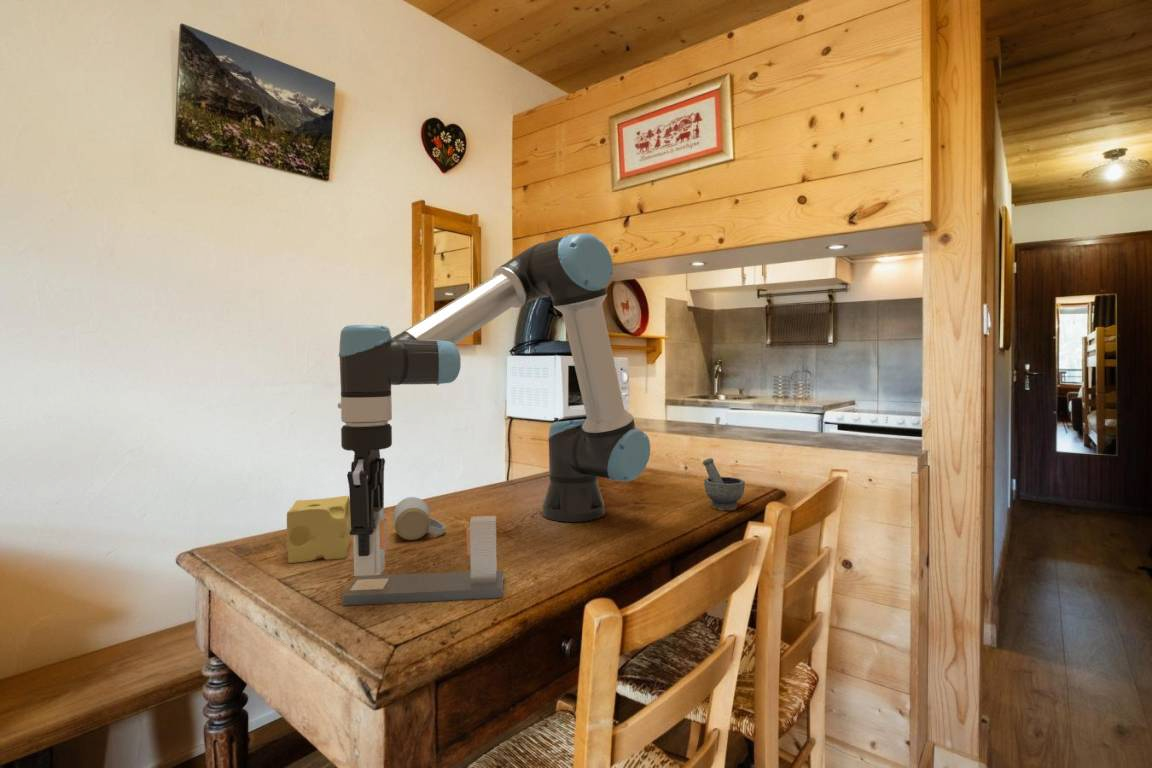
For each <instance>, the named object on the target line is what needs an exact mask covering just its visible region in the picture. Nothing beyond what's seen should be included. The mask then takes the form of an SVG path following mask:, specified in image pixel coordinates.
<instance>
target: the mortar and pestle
mask: <svg viewBox="0 0 1152 768" xmlns="http://www.w3.org/2000/svg"><path fill="white" fill-rule="evenodd" d="M714 462H715V460H714V458H707V459H704V460H703V461H702V465H703V466H704V467H705V470H706V472H707V474H708V477H707V478H705V479H704V482H703V483H704V491H705V493H706V495H707V498H709V499H710V500H711V507H712V506H713V507H715V508H719V509H726V510H730V511H736V510H737V509H738V504H737V502H738V501H739V500H740V499H741V498H742V497H743V495H744V493H745V486H746V485H745V484H746V483H745V482H746V481H745V480H744V479H742V478H737V477H729V476H721V475H720V473H719V471H718V469H717V466H716V465H715V463H714ZM736 508H737V509H736Z"/></svg>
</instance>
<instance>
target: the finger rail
mask: <svg viewBox="0 0 1152 768" xmlns="http://www.w3.org/2000/svg"><path fill="white" fill-rule="evenodd" d="M465 535H466V556H470V571H452V572H450V571H449V572H448V571H447V572H429V573H428V572H427V573H406V574H403V573H402V574H386V575H385V574H384V575H383V574H381V575H367V576H356V578H355V579H354V580H353V581H352V583H351V584H350V586H349V587H348V589H347V590H346V591H345V593H343V595H342V606H344V607H345V606H362V605H364V606H365V605H382V604H385V605H386V604H404V603H406V604H407V603H421V602H422V603H424V602H441V601H442V602H443V601H447V602H448V601H462V600H463V601H464V600H466V601H468V600H484V599H502V598H503V591H504V590H503V587H504V569H497V568H498V567H497V566H498V565H497V564H498V563H497V561H498V560H497V558H498V557H497V515H486V516H483V515H481V516H471V517H470V520H469V526H467V528H466V534H465Z"/></svg>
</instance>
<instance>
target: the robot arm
mask: <svg viewBox="0 0 1152 768" xmlns="http://www.w3.org/2000/svg"><path fill="white" fill-rule="evenodd" d="M613 273H614V263H613V258H612V256H611V253H610V250H609V249H608V247H607V245H606V244H605V243H604V242H603V240H600V239H599V238H598V237H597V236H595V235H593V234H590V233H575V234H573V233H572V234H568V235H565V236H562V237H559V238H554V239H550V240H547V241H543V242H539V243H537V244H534V245H532V246H530V247H528V248H526V249H525V250H523V251H522V252H520V253H519V254H517V255H516V256H514V257H513V258H511V259H509V260H508V261H506V262H505V263H503V264H502V265H500V266H499V267H497V268H495V270H494V271H493V273H492V277H489V278H488V279H487V280H485V281H484V282H482V283H481V284H478V285H477V286H474V288H472V289H471V290H469V291H466V292H465V293H464V294H462V295H461V296H459V297H456V298H455V299H454V300H452V301H451V302H448V303H447V304H446V305H444V306H442V307H441V308H439V309H438V310H436V311H433V313H431V314H429V315H427V316H426V317H424V318H423V319H421V320H419V321H418V322H416V323H415V324H413V325H411V326H410V327H408V328H406V329H404V330H402V332H401V333H398V334H397V335H395V336H393V337H392V334H391V330H390V328H389V327H388V326H386V325H378V324H376V325H375V324H351V325H346V326H344V327H343V328H342V329H341V330H340V335H339V336H340V338H339V349H338V350H339V351H338V357H339V371H340V372H339V373H340V374H339V375H340V376H339V377H340V402H338V403H337V408H338V409H340V410H341V411H340V413H341V415H340V416H341V417H340V420H341V422H342V423H345V425H342V427H341V428H340V435H341V436H340V437H341V440H340V441H341V443H340V444H341V445H340V446H341V448H342V449H343V450H344V451H345V450H346V451H352V452H353V453H354V454H353V461H351V465H350V466H351V467H350V471H347V474H346V477H347V483H348V492H349V493H348V494H349V499H350V516H351V531H350V536H353V535H356V576H355V577H358V576H376V575H375V574H376V569H375V532H373V507H384V505H385V504H384V503H385V502H384V501H385V498H384V496H385V491H384V489H385V486H384V483H385V464H386V459H385V458H384V457H383V458H382V457H381V453H380V450H386V449H389V448H390V447H391V446H392V444H393V434H392V433H393V432H392V431H393V427H392V425H391V424H390V423H389V422H390V421H391V420H392V419H393V411H392V410H393V409H392V408H393V407H392V386H399V385H436V386H439V385H440V384H450V383H453V382H454V381H456V379H457V378H458V376H459V374H460V371H461V367H462V366H461V354H460V351H459V348H458V347H457V345H456V344H459V343H460V342H462V341H463V340H464V339H466V338H467V337H469V336H470V335H472V334H473V333H475V332H476V331H478V330H480V329H481V328H483V327H484V326H485V325H487V324H488V323H490V322H492V321H493V320H494V319H497V317H499V316H501V315H502V314H503V313H506V312H507V311H508V310H510V309H511V308H518V309H519V308H521V307H523V306H525V305H526V304H527V303H529V302H532V301H535V300H538V299H541V298H548V297H551V301H552V306H553V308H554V309H555V310H557V311H559V312H560V313H561V314H562V317H563V321H564V326H565V330H566V334H567V338H568V339H567V340H568V344H569V348H570V352H571V356H572V359H573V365H574V369H575V374H576V378H577V381H578V386H579V391H580V395H581V400H582V404H583V408H584V412H585V416H586V418H582V419H572V420H563V421H554V422H552V423H551V424H550V426H549V432H548V433H549V435H548V438H547V440H548V465H549V466H548V467H549V482H548V483H549V484H548V486H547V491H546V492H545V493H546V494H545V497H544V499H543V504H542V516H543V517H544V518H546V519H548V520H552V521H556V522H563V521H564V522H566V523H570V522H571V523H581V522H582V521H583V522H590V521H594V520H593V519H595V520H598V519H601V518H602V516H603V515H604V514H606V513H605V512H606V507H605V502H604V499H603V496H602V492H601V490H600V486H599V484H598V478H603V479H607V480H608V479H609V480H612V481H614V482H619V481H620V482H631V481H634V480H636V479H638V477H640V476H641V475H642V473H643V472H644V471H645V469H646V467H647V464H648V463H649V461H650V455H651V442H650V438H649V436H648V435H647V433H645V432H644V431H643V430H641V429H639V428H636V424H635V419H634V416H633V414H632V413H630V412H628V411H627V410H626V409H625V406H624V401H623V397H622V392H621V391H622V390H621V387H620V382H619V377H618V374H617V373H618V372H617V367H616V363H615V359H614V355H613V349H612V345H611V340H610V336H609V330H608V327H607V326H608V325H607V322H606V317H605V313H604V307H603V302H604V301H605V299H606V297H607V296H608V292H607V286H608V285H609V283H610V282H611V280H612V275H613ZM384 508H385V507H384ZM604 516H605V515H604ZM604 516H603V517H604ZM600 517H601V518H600ZM597 518H598V519H597ZM384 520H387V519H386V518H384ZM589 520H590V521H589ZM564 522H563V523H564Z"/></svg>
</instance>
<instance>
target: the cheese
mask: <svg viewBox="0 0 1152 768" xmlns="http://www.w3.org/2000/svg"><path fill="white" fill-rule="evenodd" d="M350 531H351V516H350V495H342V496H341V495H340V496H333V497H326V498H316V499H314V498H313V499H298V500H295V502H294V504H293V505H292V507H291V508H290V509H288V510H287V512H286V550H287V552H286V553H287V558H288V559H287V560H288V564H295V563H303V562H304V563H306V562H312V561H316V560H319V559H324V560H341V559H346V558H347V552H348V548H349V546H350V540H351V535H350Z"/></svg>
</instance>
